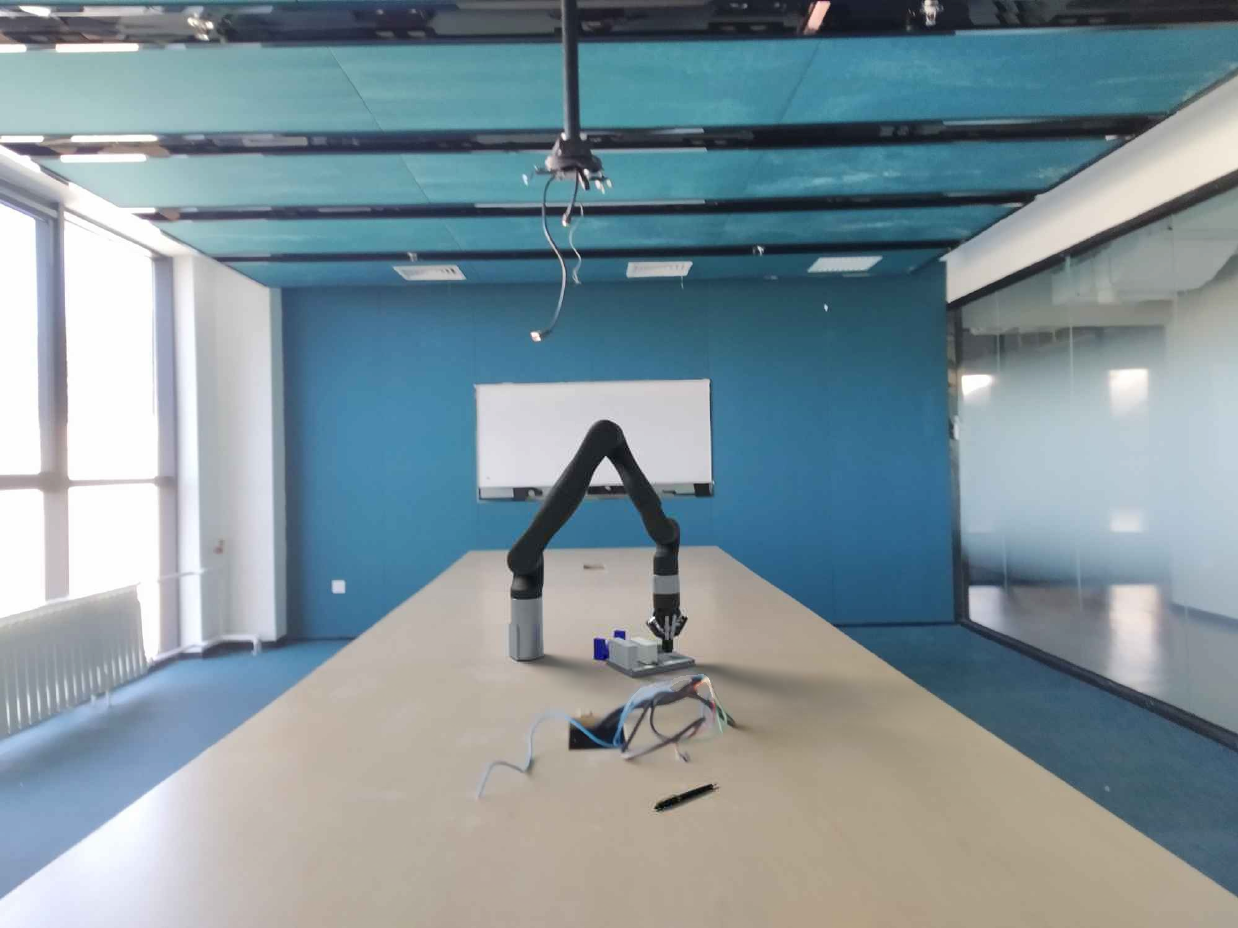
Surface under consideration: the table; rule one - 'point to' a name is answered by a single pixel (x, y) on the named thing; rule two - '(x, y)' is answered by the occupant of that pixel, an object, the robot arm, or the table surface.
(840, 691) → the table surface
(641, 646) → the block
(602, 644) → the cable clip
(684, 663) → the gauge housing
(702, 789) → the fountain pen
